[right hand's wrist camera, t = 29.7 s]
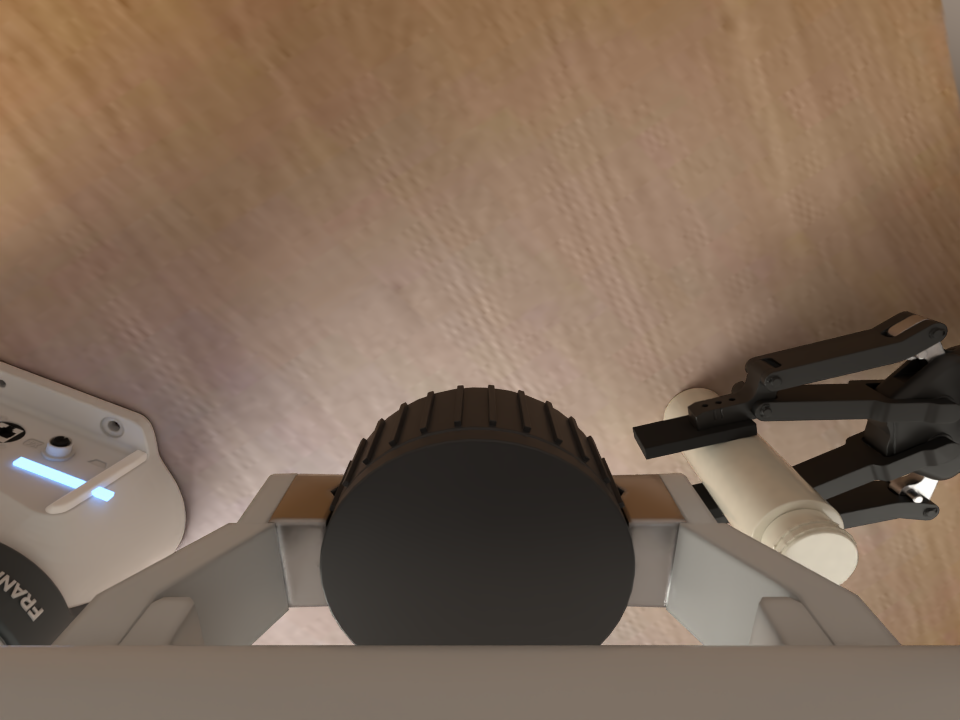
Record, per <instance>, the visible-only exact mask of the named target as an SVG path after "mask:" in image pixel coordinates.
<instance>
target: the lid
mask: <svg viewBox="0 0 960 720" xmlns="http://www.w3.org/2000/svg"><path fill="white" fill-rule="evenodd" d="M623 507H625V505H624V503H623V500H622V498H621V496H620V493H619V491H618V489H617V486H616V484H615V482H614V479H613V477H612V475H611V472H610V470H609V468H608V465H607V463H606V461H605V458H601V456H600V454H599V452H598V449H597V447H596V444H595V442H594V440H593V438H592V437H591V436H589V437H586V436H585V434H584V433H583V432H582V431H581V430H580V429H579V428H578V426H577V423H576V421H575V419H574V418H573V417H572V416H571V417H569V418H567V417H566V416H564V415H563V414H562V413H560V412H559V411H558V410H556V409H554V408H553V406H552V403H550V402H549V401H546V402H545V403H544V402H541V401H539V400H536V399H534V398H532V397H529V396H527V395H525V393H524V391H521V390H518V393H516V392H512V391H508V390H501V389H494V385H488V388H464V386H463V385H461V386H457V389H453V390H448V391H444V392H439V393H435V394H434V391H431V392H428V394H427V397H424V398H421V399H418V400H416V401H415V402H413V403H411V404H409V405H407V403H406V402H405V403H403V404H401V406H400V409H399V410H398V411H397V412H395V413H394V414H392V415H391V416H390V417H388V418H387V419H386V420H383V419H380V420H379V421H378V423H377V426H376V428H375V431H374V432H373V433H372V434H371V435H370V437H369V438H368V439H367V440H366V439H364V438H363V439H362V440H361V442H360V444H359V446H358V449H357V451H356V453H355V455H354V458H353V460H352V461H351V460H350V462H349V464H348V467H347V469H346V471H345V473H344V476H343V478H342V480H341V483H340V485H339V487H338V489H337V492H336V494H335V496H334V498H333V501H332V503H331V505H330V508H329V510H331V511H333V514H332V516H331V518H330V521H329V523H328V526H327V528H326V530H325V533H324V537H323V542H322V546H321V552H320V576H321V584H322V588H323V592H324V596H325V599H326V602H327V604H328V606H329V609H330V611H331V613H332V615H333V617H334V619H335V620H336V622H337V623H338V625H339V627H340V628H341V630H342V631H343V632H344V633H345V634H346V636H347V637H348V638H349V639H350V640H351V642H352V643H353V644H355V645H601V644H602V643H603V642H604V640H605V639H606V638H607V637H608V636H609V635H610V634H611V632H612V631H613V629H614V628H615V627H616V625H617V624H618V622H619V621H620V619H621V617H622V615H623V613H624V611H625V609H626V607H627V605H628V602H629V599H630V596H631V593H632V589H633V583H634V577H635V553H634V547H633V541H632V537H631V534H630V531H629V529H628V526H627V523H626V520H625V518H624V516H623V513H622V511H621V508H623Z"/></svg>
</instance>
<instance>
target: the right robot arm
mask: <svg viewBox="0 0 960 720" xmlns="http://www.w3.org/2000/svg"><path fill="white" fill-rule="evenodd" d="M114 421H115V422H117V423H118V424H119V426H120V427H119V426H117V425H116V424H115V422H114ZM343 476H344V475H338V474H297V473H291V474H273V475H270V476H269V477H268V479H267V480H266V482H265V483H264V485H263V486H262V487H261V489H260V490H259V492H258V493H257V495H256V496H255V498H254V499H253V500H252V502H251V503H250V505H249V506H248V508H247V509H246V511H245V512H244V513H243V515H242V516H241V518H240V519H239V521H238V522H237V523H228V524H226V525H225V526H223V527H221V528H219V529H217V530H215V531H213V532H212V533H210V534H208V535H206V536H204V537H202V538H201V539H199V540H197V541H195V542H193V543H191V544H189V545H188V546H186V547H184V548H182V549H180V550H178V551H176V552H175V550H176V549H177V547H178V546H179V544H180V542H181V540H182V537H183V534H184V530H185V524H186V512H185V505H184V501H183V498H182V494H181V492H180V489H179V487H178V485H177V483H176V481H175V480H174V478H173V476H172V475H171V473H170V472H169V470H168V469H167V467H166V466H165V464H164V463H163V461H162V459H161V457H160V455H159V452H158V446H157V441H156V436H155V433H154V430H153V427H152V425H151V423H150V421H149V420H148V419H147V418H146V417H144V416H143V415H141V414H139V413H137V412H134V411H131V410H129V409H126V408H123V407H121V406H118V405H115V404H113V403H110V402H107V401H105V400H102V399H99V398H97V397H94V396H91V395H89V394H86V393H83V392H81V391H78V390H75V389H73V388H70V387H68V386H65V385H62V384H60V383H57V382H54V381H52V380H49V379H46V378H44V377H41V376H38V375H36V374H33V373H30V372H28V371H25V370H22V369H20V368H17V367H14V366H12V365H9V364H6V363H4V362H1V361H0V720H960V645H901V644H900V643H899V642H898V641H897V639H896V638H895V637H894V636H893V635H892V634H891V633H890V632H889V630H888V629H887V628H886V627H885V626H884V625H883V624H882V622H881V621H880V620H879V619H878V618H877V617H876V616H875V614H874V613H873V612H872V611H871V610H870V609H869V608H868V607H867V605H866V604H865V603H864V602H863V601H862V600H861V599H860V597H859V596H858V595H856V594H854V593H852V592H850V591H849V590H847V589H845V588H843V587H841V586H839V585H838V584H836V583H834V582H832V581H830V580H829V579H827V578H825V577H823V576H821V575H819V574H818V573H816V572H814V571H812V570H810V569H808V568H807V567H805V566H803V565H801V564H799V563H797V562H796V561H794V560H792V559H790V558H788V557H787V556H785V555H783V554H781V553H779V552H777V551H776V550H774V549H772V548H770V547H768V546H766V545H765V544H763V543H761V542H759V541H757V540H755V539H754V538H752V537H750V536H748V535H746V534H745V533H743V532H741V531H739V530H737V529H735V528H734V527H732V526H730V525H728V524H726V523H717V521H716V520H715V518H714V517H713V515H712V514H711V513H710V511H709V510H708V508H707V507H706V505H705V504H704V502H703V501H702V499H701V498H700V496H699V495H698V494H697V492H696V491H695V489H694V488H693V486H692V485H691V483H690V482H689V480H688V479H687V477H686V476H685V475H683V474H681V473H672V474H647V475H612V477H613V479H614V482H615V484H616V486H617V489H618V491H619V493H620V496H621V498H622V500H623V503H624V505H625V507H623V508H621V511H622V513H623V516H624V518H625V520H626V523H627V526H628V529H629V531H630V534H631V537H632V541H633V547H634V553H635V577H634V583H633V589H632V593H631V596H630V599H629V602H628V605H627V606H637V607H666V610H667V611H668V612H669V613H670V614H671V615H672V616H673V617H675V618H676V619H677V620H678V621H679V622H680V623H681V624H682V625H683V626H684V627H685V628H686V629H687V630H688V631H689V632H690V633H691V634H692V635H694V636H695V637H696V638H697V639H698V640H699V641H700V642H701V643H702V644H703V645H252V644H253V643H254V642H255V641H256V640H257V639H258V638H259V637H260V636H261V635H262V634H263V633H265V632H266V631H267V630H268V629H269V628H270V627H271V626H272V625H273V624H274V623H275V622H276V621H277V620H278V619H280V618H281V617H282V616H283V615H284V614H285V613H286V612H287V611H288V610H289V609H288V607H317V606H328V604H327V602H326V599H325V596H324V592H323V588H322V584H321V576H320V552H321V546H322V542H323V537H324V533H325V530H326V528H327V526H328V523H329V521H330V518H331V516H332V514H333V511H331V510H329V508H330V505H331V503H332V501H333V498H334V496H335V494H336V492H337V489H338V487H339V485H340V483H341V480H342V478H343ZM174 552H175V553H174Z"/></svg>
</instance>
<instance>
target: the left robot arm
mask: <svg viewBox="0 0 960 720" xmlns="http://www.w3.org/2000/svg"><path fill="white" fill-rule="evenodd" d="M946 335H947V327H946V325H945V324H942V323H940V322H937V321H934V320H931V319H928V318H925V317H923V316H920V315H916V314H913V313H911V312H901V313H899V314H897V315H895V316H894V317H892V318H890V319H888V320H887V321H885V322H883V323H881V324H880V325H878V326H876V327H874V328H873V329H870V330H865V331H861V332H857V333H853V334H849V335H845V336H841V337H837V338H832V339H828V340H824V341H820V342H816V343H812V344H808V345H804V346H799V347H795V348H791V349H787V350H783V351H779V352H775V353H771V354H766V355H762V356H758V357H754V358H752V359H750V360H749V361H748V362H747V363H746V365H745V370H746V372H747V373H748V374H747V378H746V381H745V383H744V382H743V381H742V382H738V383H736V384H735V385H734V386H733V388H732V394H728V395H724V396H720V397H715V398H712V399H706V400H702V401H698V402H694V403H693V404H691V405H690V406H688V407H687V408H688V415H686V416H681V417H677V418H672V419H668V420H664V421H659V422H655V423H650V424H646V425H642V426H637V427H633V432H634V438H635V439H636V441H637V443H638V445H639V447H640V448H641V450H642V452H643V454H644V456H645V458H646V459H651V458H656V457H660V456H665V455H669V454H674V453H678V452H683V451H687V450H692V449H696V448H701V447H705V446H710V445H714V444H719V443H724V442H728V441H733V440H737V439H742V438H746V437H751V436H755V435H757V427H756V423H755V422H754V421H753V420H752V419H756V418H757V419H759V420H760V421H796V420H842V419H867V420H868V421H867V425H866V428H865V431H863V432H860V433H858V434H856V435H853V436H851V437H849V438H847V440H846V444H845V445H843V446H841V447H838V448H836V449H834V450H831V451H829V452H826V453H824V454H821V455H819V456H817V457H814V458H812V459H809V460H807V461H805V462H802V463H800V464H797V465H795V466H792V467H793V468H794V469H795V470H796V471H797V472H798V473H799V474H800V475H801V476H802V477H803V478H804V479H805V480H806V481H807V482H808V483H809V484H810V485H811V486H812V487H813V488H814V489H815V490H816V491H817V492H818V493H819V494H820V495H821V496H822V497H823V498H824V499H825V500H826V501H827V502H828V503H829V504H830V505H831V506H832V507H833V508H834V509H835V510H836V511H837V512H838V513H839V514H840V516H841V518H842V520H843V524H844V529H846V528H851V527H856V526H861V525H866V524H872V523H877V522H882V521H887V520H892V519H897V518H905V519H916V520H931V519H933V518H935V517H936V516H937V515H938V514H939V507H938V506H937V505H936V504H934V503H933V502H932V501H930V498H931V496H932V494H933V491H934V489H935V487H936V485H937V483H938V481H939V480H946V479H950V478H952V477H954V476H955V475H957V474H958V473H960V345H958V346H954V347H951V348H948V349H946V350H945V349H943V347H942V344H941V342H940V341H942V340H943V339H944V338H945V336H946ZM903 360H907V361H906V362H905V363H904V364H903V365H902V366H900V367H899V368H898V369H897V370H896V371H894V372H893V373H892V374H891V375H890V376H889V377H887V378H886V379H885V380H852V381H849V383H848V384H815V385H804V384H808V383H812V382H817V381H821V380H825V379H829V378H834V377H838V376H842V375H846V374H851V373H855V372H859V371H863V370H868V369H872V368H876V367H880V366H885V365H889V364H893V363H897V362H900V361H903ZM909 473H910V474H909ZM907 474H908V475H907ZM904 475H907V476H904ZM902 476H904V477H902ZM874 480H881V481H874ZM692 486H693V488H694V489H695V491H696V492H697V494H698V495H699V496H700V498H701V499H702V501H703V502H704V504H705V505H706V507H707V508H708V510H709V511H710V513H711V514H712V515H713V517H714V518H715V520H716V521H717V523H726V524H727V523H729V522H728V520H727V519H726V517H725V516H724V514H723V513H722V511H721V510H720V509H719V507H718V506H717V504H716V503H715V501H714V500H713V498H712V497H711V495H710V494H709V492H708V491H707V490H706V488H705V487H704V485H703V484H702V483H700V484H695V485H692Z"/></svg>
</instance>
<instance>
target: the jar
mask: <svg viewBox="0 0 960 720" xmlns="http://www.w3.org/2000/svg"><path fill="white" fill-rule="evenodd" d="M715 397H720V396H719V395H718V394H717V393H715V392H714V391H712V390H709V389H705V388H692V389H688V390H685V391H683V392H681V393H679V394H678V395H676V396H675V397H674V398H673V399H672V400H671V401H670V402H669V404H668V405H667V407H666V410H665V412H664V419H663V420H668V419H672V418H677V417H681V416H686V415H688V408H687V407H688V406H690V405H691V404H693V403H694V402H698V401H702V400H706V399H712V398H715ZM681 453H682V454H683V456H684V457H685V459H686V460H687V462H688V463H689V465H690V466H691V468H692V469H693V471H694V472H695V473H696V475H697V476H698V478H699V479H700V481H701V482H702V484H703V485H704V487H705V488H706V490H707V491H708V492H709V494H710V495H711V497H712V498H713V500H714V501H715V503H716V504H717V506H718V507H719V509H720V510H721V511H722V513H723V514H724V516H725V517H726V519H727V520H728V522H729V523H730V525H731V526H732V527H734V528H735V529H737V530H739V531H741V532H743V533H745V534H746V535H748V536H750V537H752V538H754V539H755V540H757V541H759V542H761V543H763V544H765V545H766V546H768V547H770V548H772V549H774V550H776V551H777V552H779V553H781V554H783V555H785V556H787V557H788V558H790V559H792V560H794V561H796V562H797V563H799V564H801V565H803V566H805V567H807V568H808V569H810V570H812V571H814V572H816V573H818V574H819V575H821V576H823V577H825V578H827V579H829V580H830V581H832V582H834V583H836V584H838V585H841V584H842V583H844V582H845V581H846V580H847V579H848V578H849V577H850V576H851V575H852V573H853V572H854V570H855V568H856V566H857V563H858V550H857V546H856V542H855V541H854V539H853V537H852V536H851V535H850V534H849V533H848V532H846V531H845V530H844V524H843V520H842V518H841V516H840V514H839V513H838V512H837V511H836V510H835V509H834V508H833V507H832V506H831V505H830V504H829V503H828V502H827V501H826V500H825V499H824V498H823V497H822V496H821V495H820V494H819V493H818V492H817V491H816V490H815V489H814V488H813V487H812V486H811V485H810V484H809V483H808V482H807V481H806V480H805V479H804V478H803V477H802V476H801V475H800V474H799V473H798V472H797V471H796V470H795V469H794V468H793V467H791V466H790V465H789V464H788V463H787V462H786V461H785V460H784V459H783V458H782V457H781V456H780V455H779V454H778V453H777V452H776V451H775V450H774V449H773V448H772V447H771V446H770V445H769V444H768V443H767V442H766V441H765V440H764V439H763V438H762V437H761V436H760V435H759V434H758V433H757V435H755V436H751V437H746V438H742V439H737V440H733V441H728V442H724V443H719V444H714V445H710V446H705V447H701V448H696V449H692V450H687V451H683V452H681Z"/></svg>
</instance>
